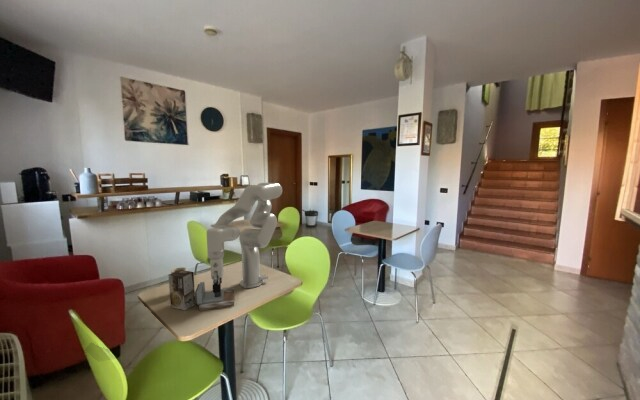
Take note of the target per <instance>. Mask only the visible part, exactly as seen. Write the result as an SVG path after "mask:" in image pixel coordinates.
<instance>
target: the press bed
mask: <svg viewBox="0 0 640 400" xmlns="http://www.w3.org/2000/svg"><path fill="white" fill-rule="evenodd" d="M221 291H224V297H223V302H217V303H210V304H202V305H200V304H198V309H199V311H200V312H201V311H206V310H213V309H220V308H228V307H234V306H235V287H229V288H221ZM207 292H213V289H211V290H205V293H207Z"/></svg>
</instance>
